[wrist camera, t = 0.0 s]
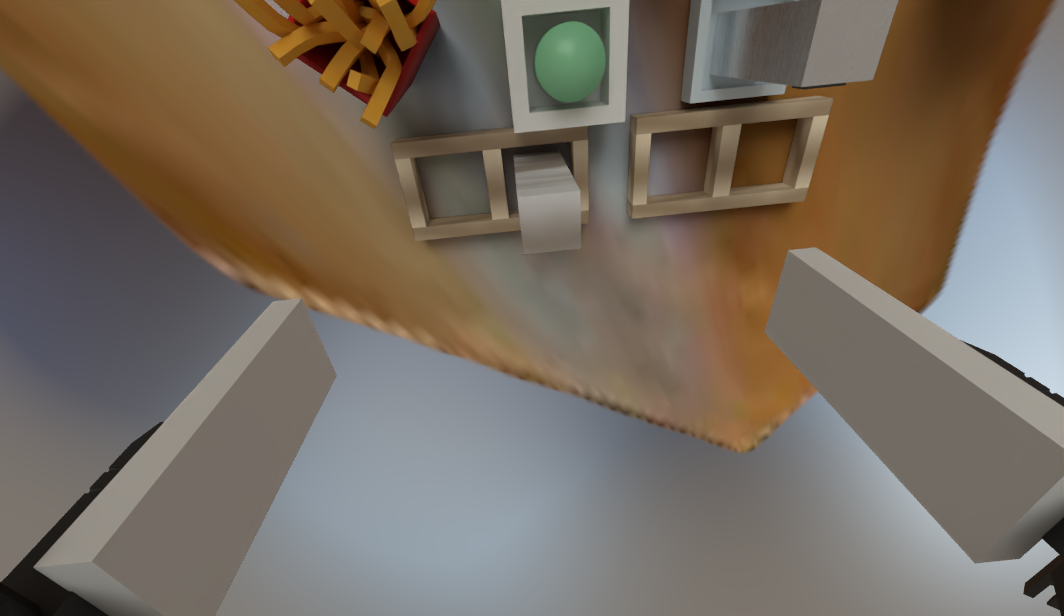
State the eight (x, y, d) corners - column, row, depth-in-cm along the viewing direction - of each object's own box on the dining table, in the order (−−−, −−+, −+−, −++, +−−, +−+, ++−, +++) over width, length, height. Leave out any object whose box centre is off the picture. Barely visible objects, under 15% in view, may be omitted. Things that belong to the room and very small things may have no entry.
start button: (530, 27, 28) (533, 25, 25) (594, 20, 28) (606, 17, 25) (535, 99, 30) (539, 105, 27) (594, 93, 30) (605, 99, 27)
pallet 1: (396, 138, 35) (351, 176, 25) (583, 119, 35) (616, 149, 25) (419, 232, 39) (390, 297, 29) (585, 215, 39) (613, 274, 29)
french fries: (416, 103, 33) (363, 138, 21) (315, 33, 30) (181, 25, 18) (471, -8, 30) (448, -48, 17) (362, -99, 27) (237, -228, 14)
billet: (717, 12, 31) (822, -4, 20) (770, 7, 31) (902, -12, 20) (708, 77, 33) (799, 92, 23) (758, 72, 33) (871, 85, 23)
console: (500, 2, 30) (500, -7, 25) (608, -9, 30) (630, -20, 25) (512, 120, 34) (514, 133, 29) (607, 110, 34) (625, 121, 29)
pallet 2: (630, 114, 35) (637, 118, 33) (817, 95, 35) (833, 98, 33) (626, 211, 39) (632, 218, 38) (791, 194, 39) (804, 201, 38)
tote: (692, -14, 30) (703, -17, 29) (794, -24, 30) (811, -29, 29) (680, 100, 34) (689, 103, 33) (770, 91, 34) (784, 93, 33)
